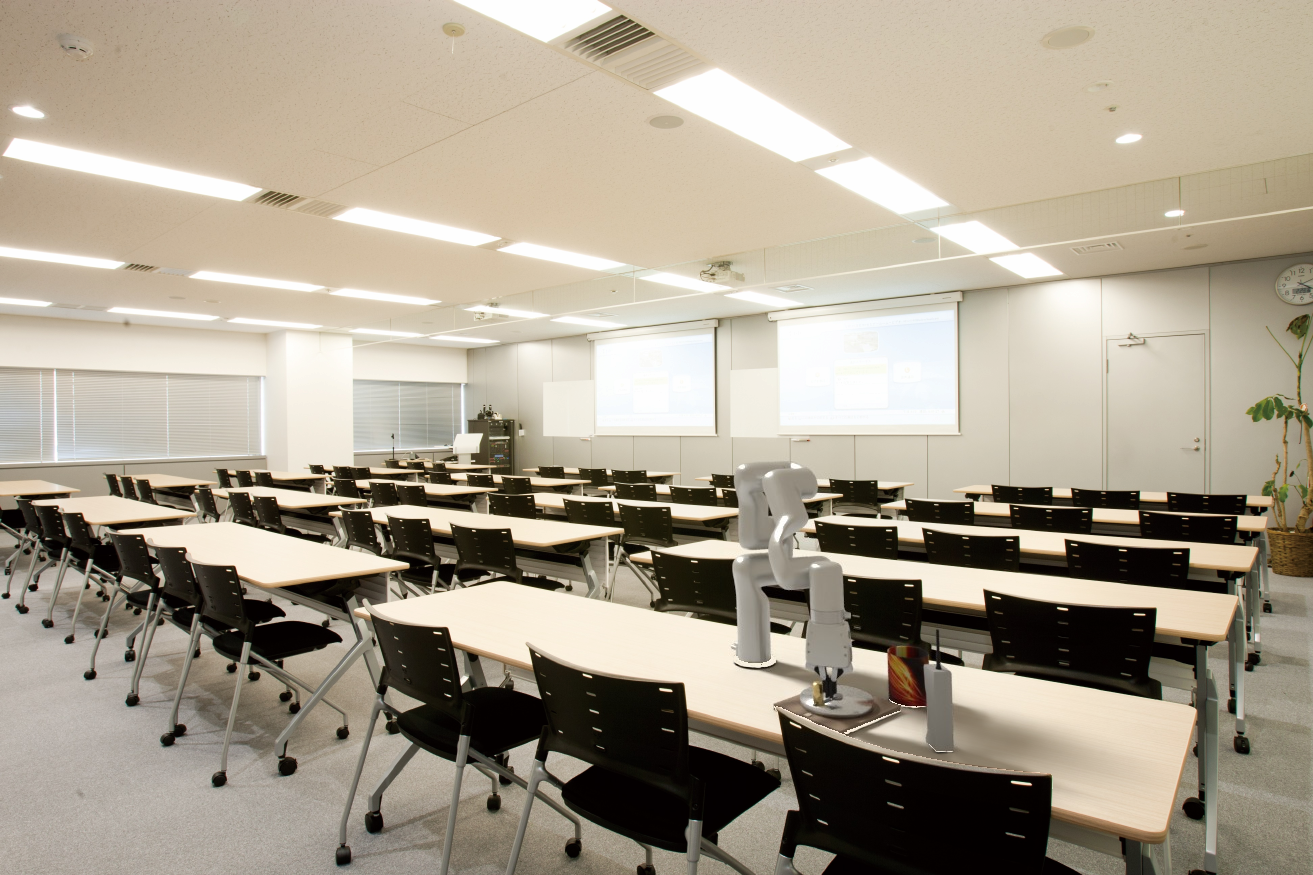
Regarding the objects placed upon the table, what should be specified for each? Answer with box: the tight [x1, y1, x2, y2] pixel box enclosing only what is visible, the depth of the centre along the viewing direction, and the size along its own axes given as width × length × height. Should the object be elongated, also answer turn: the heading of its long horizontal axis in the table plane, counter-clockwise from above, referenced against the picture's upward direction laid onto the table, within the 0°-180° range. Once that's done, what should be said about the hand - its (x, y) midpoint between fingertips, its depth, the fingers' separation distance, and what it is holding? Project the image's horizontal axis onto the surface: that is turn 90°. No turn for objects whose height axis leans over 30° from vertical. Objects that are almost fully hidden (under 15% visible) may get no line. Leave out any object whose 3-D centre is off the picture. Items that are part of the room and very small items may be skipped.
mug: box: [886, 645, 930, 707], centre depth 167 cm, size 10×14×12 cm
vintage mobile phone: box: [924, 628, 955, 752], centre depth 143 cm, size 4×5×25 cm
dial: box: [799, 680, 874, 718], centre depth 163 cm, size 17×17×6 cm
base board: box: [773, 683, 902, 736], centre depth 163 cm, size 20×22×2 cm
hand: (830, 696), depth 157 cm, fingers closed
